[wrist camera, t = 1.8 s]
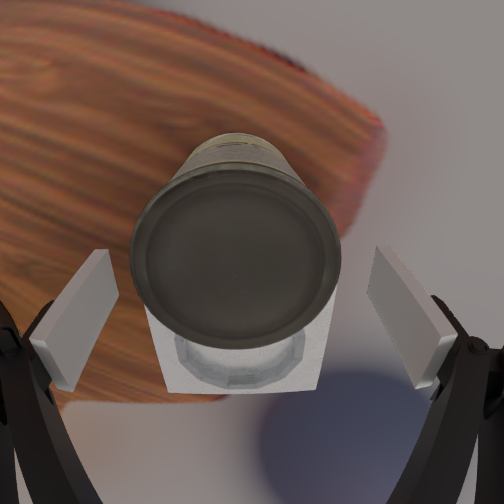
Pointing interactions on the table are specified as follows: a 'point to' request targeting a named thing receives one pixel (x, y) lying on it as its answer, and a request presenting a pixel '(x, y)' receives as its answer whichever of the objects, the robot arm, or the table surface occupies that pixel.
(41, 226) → the table surface
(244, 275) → the coffee can
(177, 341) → the duct collar
